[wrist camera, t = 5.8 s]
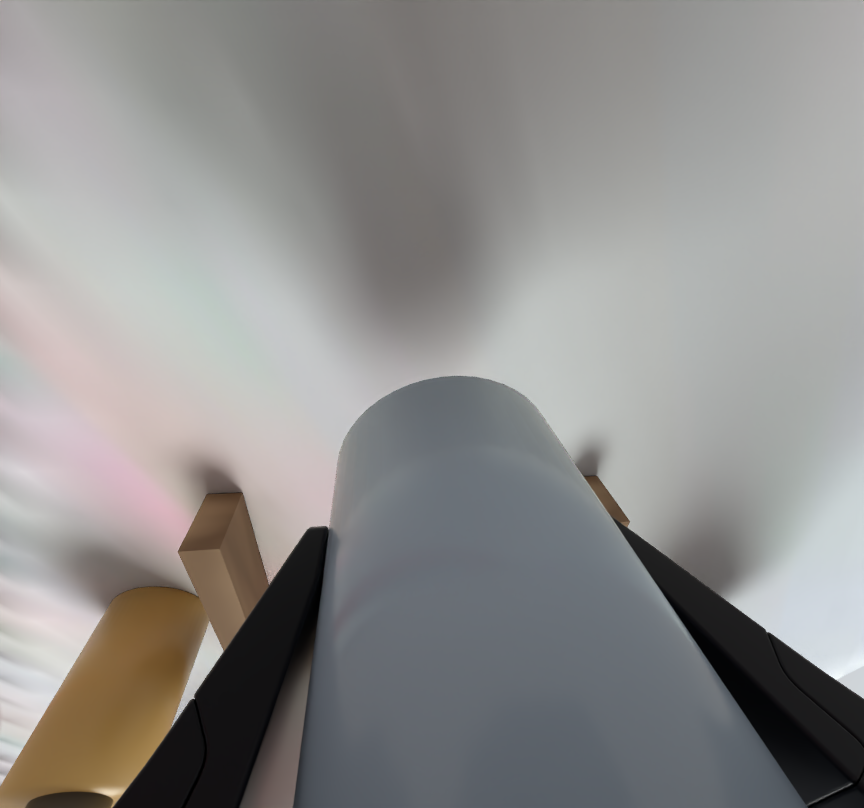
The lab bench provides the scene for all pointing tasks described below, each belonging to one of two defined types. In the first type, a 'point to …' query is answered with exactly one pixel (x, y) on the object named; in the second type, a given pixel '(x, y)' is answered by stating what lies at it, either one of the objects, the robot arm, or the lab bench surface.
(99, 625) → the reagent bottle
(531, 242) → the lab bench surface
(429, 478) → the pale blue canister
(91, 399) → the lab bench surface
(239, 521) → the cradle
